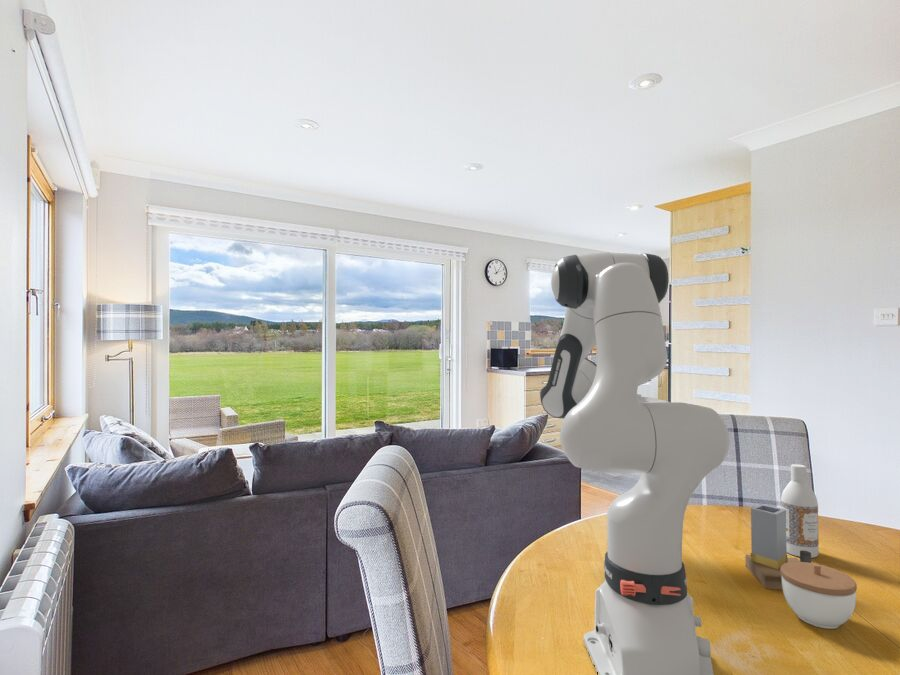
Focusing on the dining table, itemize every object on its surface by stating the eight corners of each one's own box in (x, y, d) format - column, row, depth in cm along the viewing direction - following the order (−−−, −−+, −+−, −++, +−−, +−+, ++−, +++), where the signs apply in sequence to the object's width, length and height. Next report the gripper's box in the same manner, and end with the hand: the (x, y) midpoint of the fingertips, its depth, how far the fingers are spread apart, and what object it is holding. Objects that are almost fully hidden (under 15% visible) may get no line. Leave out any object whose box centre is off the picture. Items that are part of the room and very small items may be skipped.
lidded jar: (784, 597, 94) (783, 547, 94) (857, 616, 87) (856, 563, 88) (777, 621, 86) (776, 567, 86) (857, 645, 79) (856, 586, 79)
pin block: (822, 593, 96) (822, 559, 96) (765, 588, 98) (764, 555, 98) (797, 569, 105) (796, 539, 105) (745, 566, 107) (745, 536, 107)
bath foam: (799, 559, 110) (797, 469, 111) (774, 547, 117) (773, 462, 117) (826, 557, 111) (825, 468, 112) (800, 545, 118) (799, 461, 118)
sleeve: (777, 569, 100) (776, 514, 100) (750, 560, 104) (750, 508, 104) (787, 562, 103) (786, 509, 103) (761, 554, 107) (760, 503, 107)
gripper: (590, 398, 120) (642, 404, 109) (639, 393, 132) (690, 397, 121) (591, 424, 120) (642, 432, 109) (640, 417, 132) (691, 423, 121)
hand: (668, 414), depth 115 cm, fingers open, 8 cm apart
